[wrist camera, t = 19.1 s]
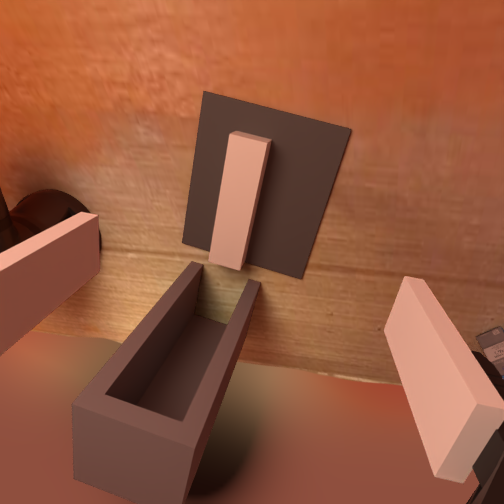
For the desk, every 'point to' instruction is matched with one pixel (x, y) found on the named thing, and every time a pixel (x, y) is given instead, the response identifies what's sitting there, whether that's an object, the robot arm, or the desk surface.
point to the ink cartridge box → (494, 347)
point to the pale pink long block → (238, 198)
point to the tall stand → (159, 397)
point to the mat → (266, 179)
